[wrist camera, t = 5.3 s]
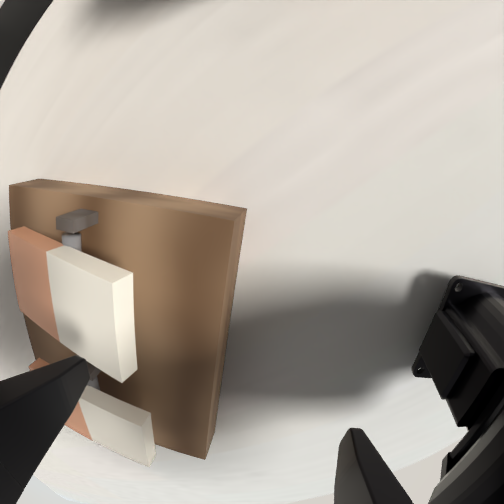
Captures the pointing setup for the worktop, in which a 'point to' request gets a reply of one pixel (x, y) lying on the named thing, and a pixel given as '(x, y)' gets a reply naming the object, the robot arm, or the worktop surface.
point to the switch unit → (152, 293)
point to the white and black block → (16, 28)
